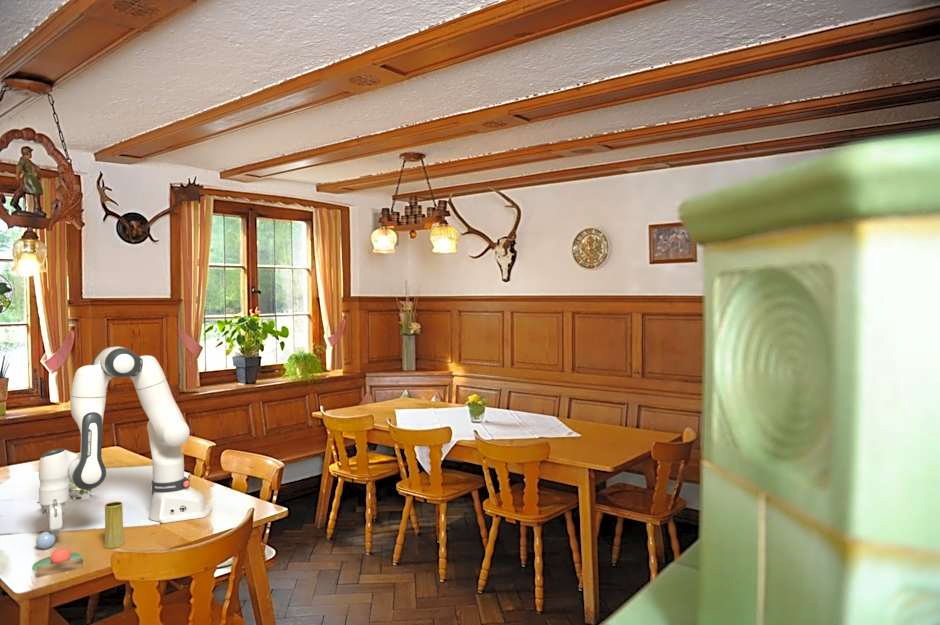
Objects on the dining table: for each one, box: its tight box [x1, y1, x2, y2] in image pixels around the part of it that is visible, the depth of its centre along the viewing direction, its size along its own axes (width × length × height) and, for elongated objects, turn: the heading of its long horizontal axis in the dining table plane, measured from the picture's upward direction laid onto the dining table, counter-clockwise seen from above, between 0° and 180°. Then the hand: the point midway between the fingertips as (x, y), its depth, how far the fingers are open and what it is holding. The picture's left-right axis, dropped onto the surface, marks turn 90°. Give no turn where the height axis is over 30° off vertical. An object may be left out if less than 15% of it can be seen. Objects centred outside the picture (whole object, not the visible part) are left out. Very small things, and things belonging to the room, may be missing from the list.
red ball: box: [49, 548, 71, 564], centre depth 203 cm, size 6×6×6 cm
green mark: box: [31, 552, 85, 572], centre depth 206 cm, size 14×14×1 cm
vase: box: [103, 501, 125, 549], centre depth 220 cm, size 6×6×14 cm
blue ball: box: [35, 531, 56, 550], centre depth 217 cm, size 6×6×6 cm
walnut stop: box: [36, 558, 84, 578], centre depth 199 cm, size 12×2×2 cm, turn 125°
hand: (54, 535), depth 224 cm, fingers closed
